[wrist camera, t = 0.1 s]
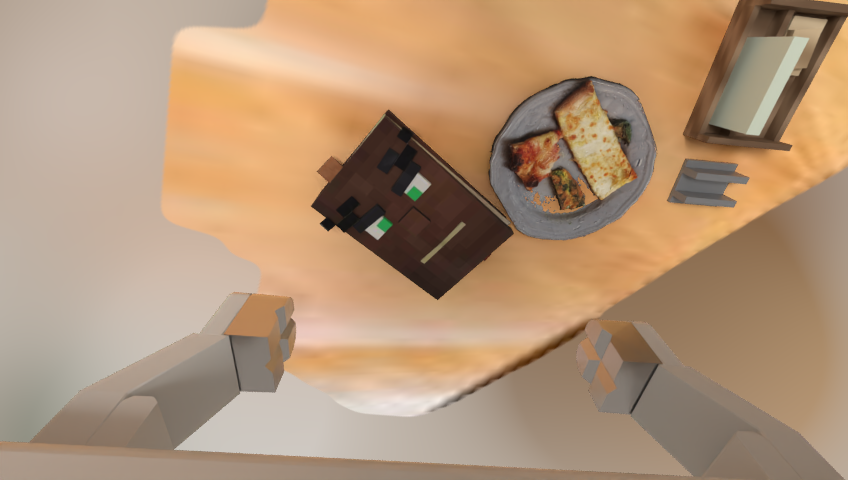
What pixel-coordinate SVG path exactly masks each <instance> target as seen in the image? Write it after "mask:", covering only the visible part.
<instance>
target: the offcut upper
mask: <svg viewBox="0 0 848 480" xmlns="http://www.w3.org/2000/svg"><path fill="white" fill-rule="evenodd" d="M822 29H823V28H818V29H797V30H788V31H787V34H786V37H789V36H796V37H804V38H809V40H808V42H807V44H806V46H805V48H804V50H803V52H802V54H801V56H800V58H799V59H798V61H797V63H796V65H795V67H794V69H800V68H807V66H808V64H809V61H810V59H811V56H812V54H813V51H814V49H815V46H816V44H817V42H818V39H819V37H820V34H821V32H822Z"/></svg>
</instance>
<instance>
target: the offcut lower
mask: <svg viewBox="0 0 848 480" xmlns="http://www.w3.org/2000/svg"><path fill="white" fill-rule="evenodd" d="M827 21H828V20H827V19H819V18H811V17H802V16H792V18H791V20H790V22H789V24H788V26H787V29H786V31H785V33H784V35H783V37H786V34H787V31H788V30H797V29H818V28H824V26H825V25H826V23H827ZM822 30H823V29H822ZM801 70H802V68H800V69H793V71H792V73H791V75H793V76H799V74H800V72H801Z"/></svg>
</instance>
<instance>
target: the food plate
mask: <svg viewBox="0 0 848 480" xmlns="http://www.w3.org/2000/svg"><path fill="white" fill-rule="evenodd" d="M638 100H639V98H638V97H637V96H636V95H635V93H634V92H633V91H632V90H630V89H629V88H627V87H625V86H623V85H621V84H620V83H619V84H618V83H614V82H610V81H607V80H602V79H598V78H596V77H592V76H590V77H585V78H581V79H580V78H579V79H568V80H563V81H561V82H560V83H558V84H554V85H552V86H550V87H548V88H546V89H544V90H541V91H539V92H538V93H536V94H534V95H532V96H530V97H529V98H527V99H526V100H524V102H522V104H520V105H519V106H518V107H517V108H516V109H515V110H514V111H513V113H512V114H511V115H510V116H509V118H508V120H507V122H506V124H505V125H504V126H503V128H502V129H501V131H500V132H499V134H498V135H497V136H496V137H495V140H494V143H493V145H492V151H490V152H492V153H493V154H492V155H491V157H490V169H489V177H490V183H491V184H492V185H491V186H492V187H493V189H494V191H495V193H496V194H497V196H498V198H499V199H500V201H501V203H502V204H503V206H504V208H505V210H506V211H507V213H508V215H509V217H510V218H511V220H512V221H513V222H514V225H516V226H515V227H517V228H516V229H517V230H519V231H520V232H522V233H523V234H526V235H527V236H530V237H534V238H540V239H549V240H550V239H551V240H568V239H574V238H577V237H582V236H584V237H585V235H587V234H589V235H590V233H593V232H595V231H597V230H599V229H601V228H603V227H605V226H606V225H608V224H610V223H611V222H613V221H616V220H618V219H619V218H621V217H622V215H623V214H625V212H626V211H627V210H628V209H629V208H630V207H631V205H633V204H634V203H635V202H636V201H637V200H638V198H639V197H640V196H641V195H642V193H643V191H644V190H645V188H646V186H647V185H648V183H649V181H650V178H651V176H652V172H653V169H654V161H655V158H656V150H657V148H656V150H655V147H656V144H655V145H654V143H655V141H653V140H654V138H652V137H653V135H651V134H652V132H651V129H650V126H649V124H648V121H647V118H646V115H645V113H643V111H644V110H643V107H642V108H641V106H642V105H641V102H640V103H639V102H638ZM557 144H558V145H559V147H557ZM579 175H580V176H579ZM578 177H579V178H580V179H582V180H583V182H585V184H586V185H587V188H588V189H589V188H590V190H591V191H592V193H593V194H594V195H597V197H598V199H597V200H595V201H594V202H592V203H590V204H588V205H586V206H585V203H584V199H585V196H584V193H582V191H581V190H580V187H579V186H581V184H579V185H578V183H579V182H577V181H578ZM518 185H519V186H518ZM531 190H533V192H532V193H531V192H530V191H531ZM537 192H538V194H539V196H540V201H541V205H542V203H543V201H544V200H545V197H544V196H548V197H549V196H551V198H552V197H553V198H554V196H555V195H556V198H557V199H558V202H559V205H560V210H564V209H568V208H569V209H571V210H572V209H574V208H577V207H580V206H584V207H582V208H580V209H578V210H577V211H574V212H569V213H562V214H560V213H555V214H552V213H550V212H548V211H549V210H547V211H546V212H544V211H543V207H542V206H539V205H537V204H536V202H534V201H533V199H534V198H533V197H534V195H535V194H536V193H537ZM532 196H533V197H532ZM525 197H527V200H528V201H526V199H525ZM537 198H538V197H537ZM550 200H551V199H550ZM530 201H533V202H534V204H533V203H531V202H530ZM545 201H546V200H545ZM551 201H552V200H551ZM553 201H555V200H553ZM545 203H547V202H545ZM549 203H550V202H548V204H549ZM535 204H536V208H535V207H534V206H535ZM550 208H551V207H550ZM554 211H555V210H554Z"/></svg>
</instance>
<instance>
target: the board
mask: <svg viewBox="0 0 848 480" xmlns="http://www.w3.org/2000/svg"><path fill="white" fill-rule="evenodd" d="M808 40H809V38H804V37H796V36H789V37H747V39H746V42H745V44H744V46H743V48H742V51H741V53H740V55H739V57H738V59H737V62H736V64H735V66H734V68H733V71H732V73H731V75H730V77H729V80H728V82H727V84H726V86H725V88H724V91H723V93H722V95H721V97H720V100H719V102H718V104H717V106H716V109H715V111H714V113H713V115H712V118H711V120H710V122H709V124H711V125H715V126H718V127H722V128H725V129H729V130H732V131H736V132H740V133H743V134H748V135H758V136H759V135H760V133H761V131H762V129H763V127H764V125H765V123H766V121H767V119H768V117H769V115H770V114H771V112H772V110H773V108H774V106H775V104H776V102H777V100H778V98H779V96H780V94H781V92H782V90H783V88H784V86H785V85H786V83H787V81H788V79H789V77H790V75H791V73H792V71H793V69H794V67H795V65H796V63H797V61H798V59H799V58H800V56H801V54H802V52H803V50H804V48H805V46H806V44H807V42H808Z"/></svg>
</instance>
